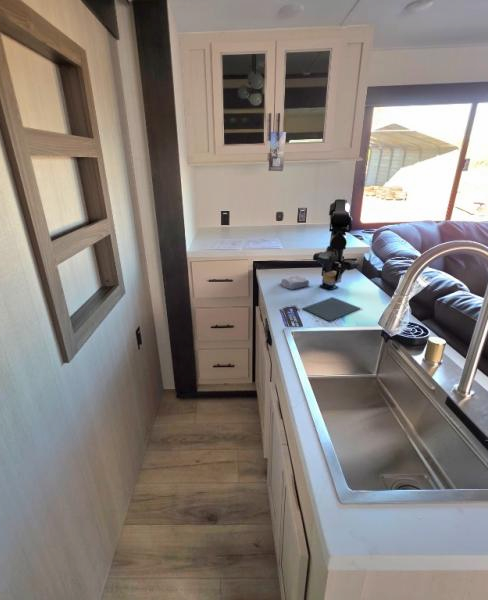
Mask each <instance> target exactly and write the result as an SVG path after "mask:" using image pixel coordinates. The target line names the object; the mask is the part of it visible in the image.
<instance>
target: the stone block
mask: <svg viewBox="0 0 488 600" xmlns="http://www.w3.org/2000/svg"><path fill="white" fill-rule="evenodd" d="M280 285H281V286H282V287H284V288H286V289H289V290H290V291H291V290H296V289H301V288H305V287H309V285H310V281H309V279H307V278H305V277H303V276H300V275H299V276H298V275H294V276H290V277H288V278H287V277H286V278H281V281H280Z"/></svg>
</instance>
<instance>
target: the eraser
mask: <svg viewBox="0 0 488 600" xmlns="http://www.w3.org/2000/svg"><path fill="white" fill-rule="evenodd" d="M336 272H337V271H330V272H327V273H323V276H322V280H321V283H322V282H323V283H326V284H329V285H333V284H335V285H336V284H339V283H342V278H343V274H342V275H341V277H340V278H339V280H338V281H337V282H336V281H335V279H336Z"/></svg>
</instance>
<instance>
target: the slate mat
mask: <svg viewBox="0 0 488 600" xmlns="http://www.w3.org/2000/svg"><path fill="white" fill-rule="evenodd" d="M302 310H304V311H306V312H307V313H310V314H312V315H315V316H317V317H318V318H321V319H323V320H325V321H328V322H332V321H335V320H337V319H339V318H342V317H344V316H347V315H349V314H351V313H354V312H356V311H359V310H361V308H360V307H358V306H355V305H353V304H351V303H348V302H346V301H343V300H340V299H338V298H335V297H330V298H327V299H325V300H321V301H319V302H316V303H314V304H311V305H308V306H305V307H302Z"/></svg>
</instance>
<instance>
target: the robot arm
mask: <svg viewBox="0 0 488 600" xmlns="http://www.w3.org/2000/svg"><path fill="white" fill-rule="evenodd" d="M349 211H350V204H349V203H348V200H347V199H344V198H337V199H335V200H334V202H332V203H330V204H329V211H328V216H329V229H328V230H329V231H328V232H330V239H329V245H328V246H327V247H326V250H325V251H320V252H315V253H314V254H313V255H312V260H313V261H316V262H318V263H319V265H321V266H322V267H321V277H323V273H327V272H330V271H337V272H336V279H335V281H336V282H337V281H338V280H339V278H340V277H341V275H342V276H343V274H344V273H345V272H346V271H351V270H355V269H358V266H359V263H358V261H357V260H354V259H346V260H345V255H344V250H346V248H347V243H348V240H347V237H346V236H347V233H350V232H351V231H352V230H353V218H352V216H351V213H350V212H349ZM319 287H320V288H322V289H326V290H328V291H332V290H335V289H337V288H338V287H339V286H337V285H336V284H333V285H329V284H326V283H323V282H322V281H321V284H320V285H319Z"/></svg>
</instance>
